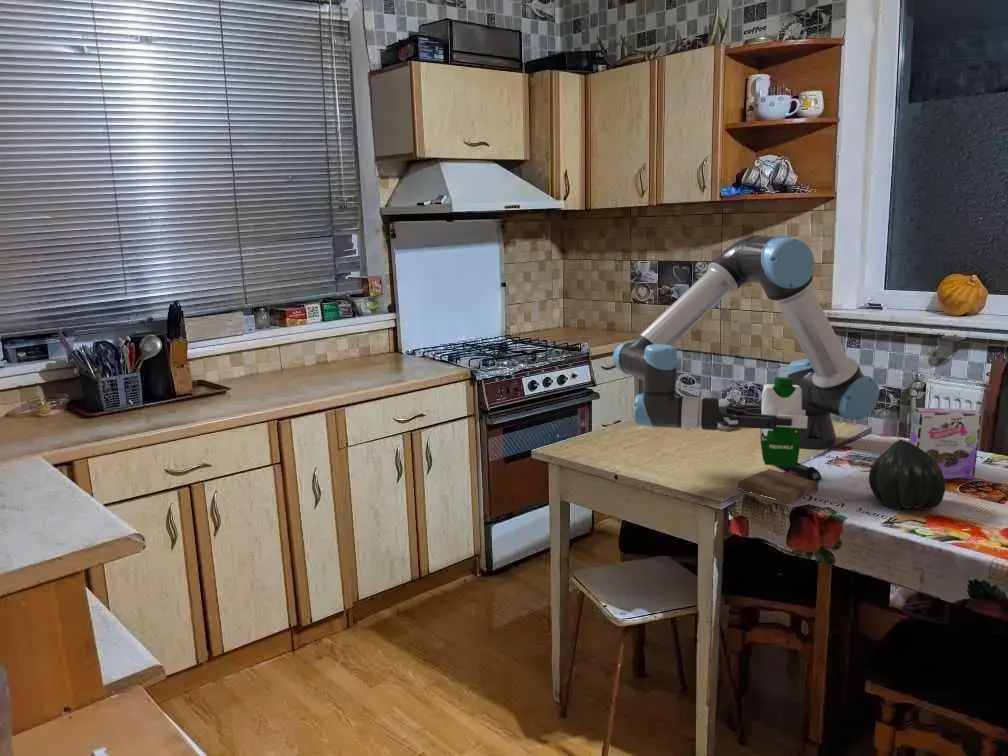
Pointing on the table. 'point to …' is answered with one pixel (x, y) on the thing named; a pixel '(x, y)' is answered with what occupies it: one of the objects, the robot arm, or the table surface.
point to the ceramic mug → (720, 425)
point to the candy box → (948, 438)
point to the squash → (907, 478)
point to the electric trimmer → (803, 471)
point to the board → (778, 485)
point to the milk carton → (783, 440)
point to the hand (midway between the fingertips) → (805, 419)
